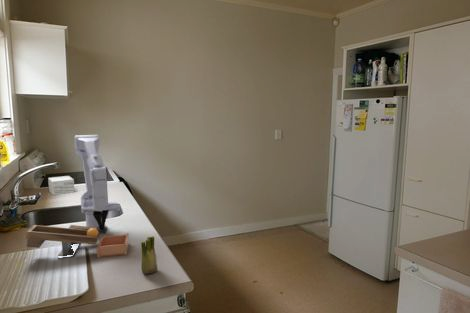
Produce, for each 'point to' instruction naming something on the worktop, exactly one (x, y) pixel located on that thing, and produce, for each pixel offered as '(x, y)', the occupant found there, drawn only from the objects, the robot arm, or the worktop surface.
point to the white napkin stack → (61, 185)
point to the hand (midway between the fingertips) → (102, 228)
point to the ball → (92, 232)
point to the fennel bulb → (148, 256)
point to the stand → (67, 249)
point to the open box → (113, 246)
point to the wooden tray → (61, 235)
